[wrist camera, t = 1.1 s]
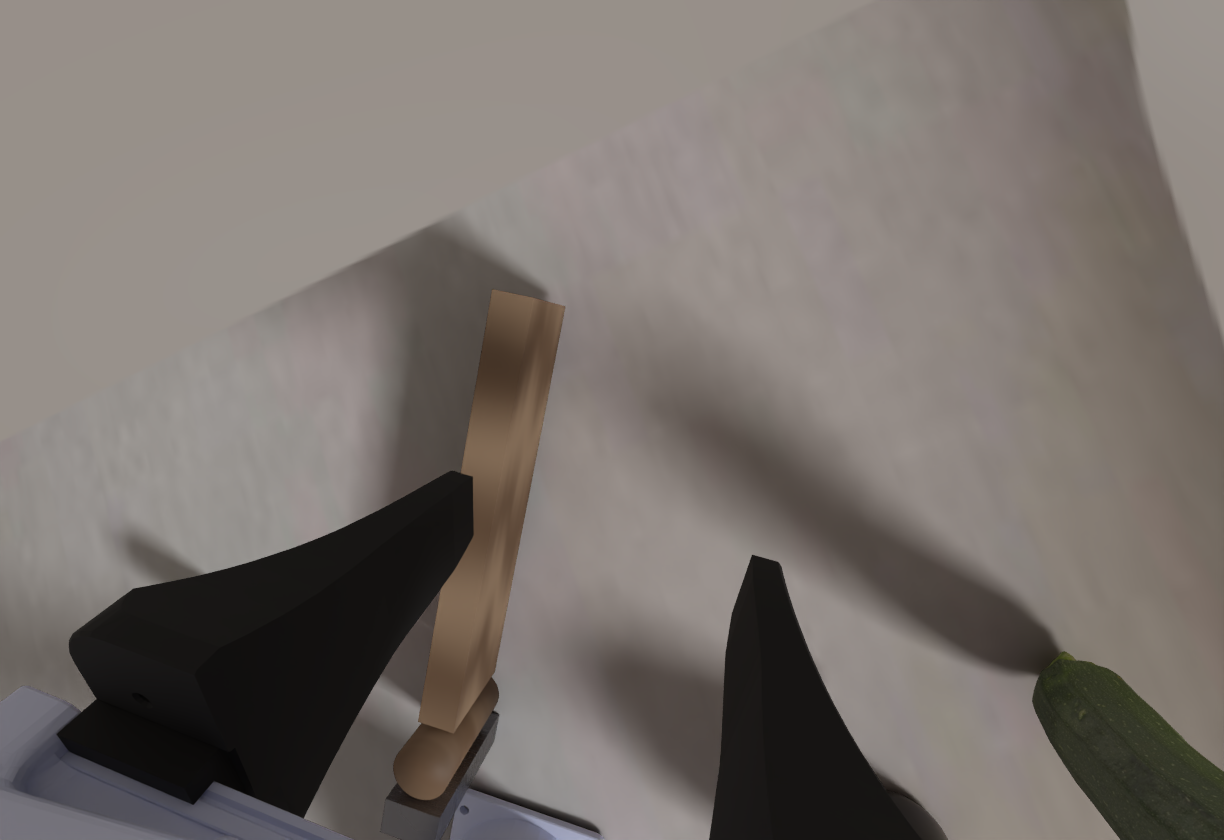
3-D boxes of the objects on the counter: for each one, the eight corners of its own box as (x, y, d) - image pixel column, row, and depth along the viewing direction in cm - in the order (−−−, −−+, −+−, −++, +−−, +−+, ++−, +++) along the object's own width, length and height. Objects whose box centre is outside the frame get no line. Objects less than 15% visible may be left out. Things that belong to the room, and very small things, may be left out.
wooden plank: (494, 719, 28) (443, 808, 23) (450, 705, 28) (389, 789, 23) (575, 308, 25) (537, 298, 19) (524, 298, 25) (472, 284, 20)
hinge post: (493, 741, 29) (433, 851, 23) (451, 727, 30) (380, 832, 23) (499, 714, 29) (439, 818, 23) (456, 700, 29) (385, 799, 23)
